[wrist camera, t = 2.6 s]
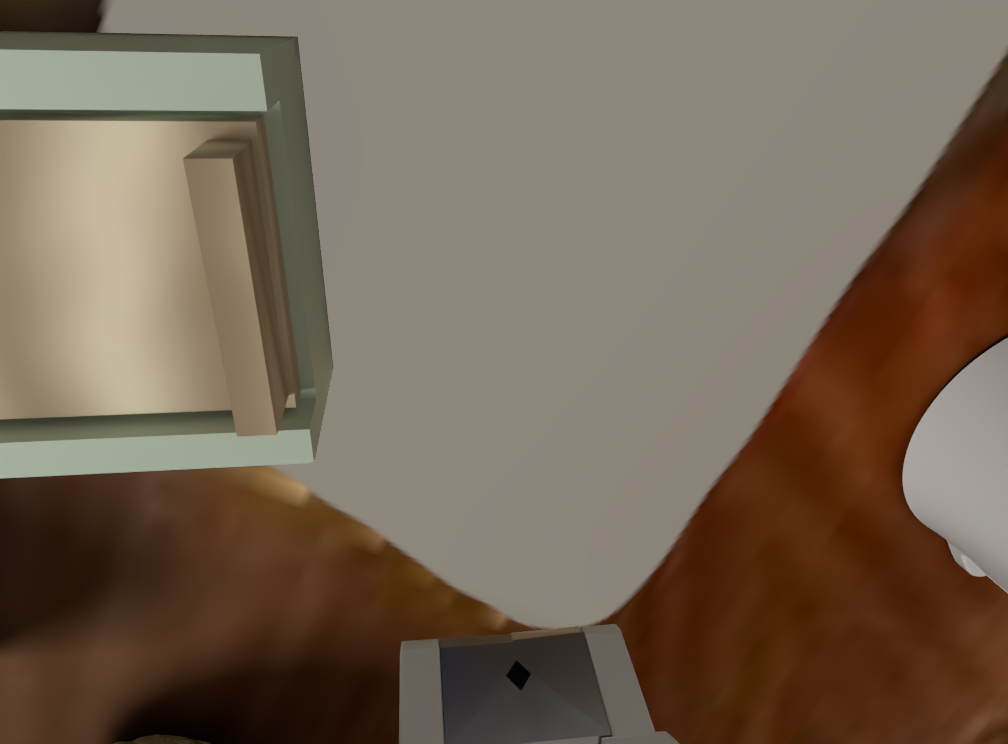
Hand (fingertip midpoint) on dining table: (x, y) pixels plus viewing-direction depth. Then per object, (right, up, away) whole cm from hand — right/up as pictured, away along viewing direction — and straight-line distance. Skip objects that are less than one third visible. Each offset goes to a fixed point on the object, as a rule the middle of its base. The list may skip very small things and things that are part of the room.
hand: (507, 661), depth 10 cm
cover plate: (-15, +7, +12) cm, 20 cm away
